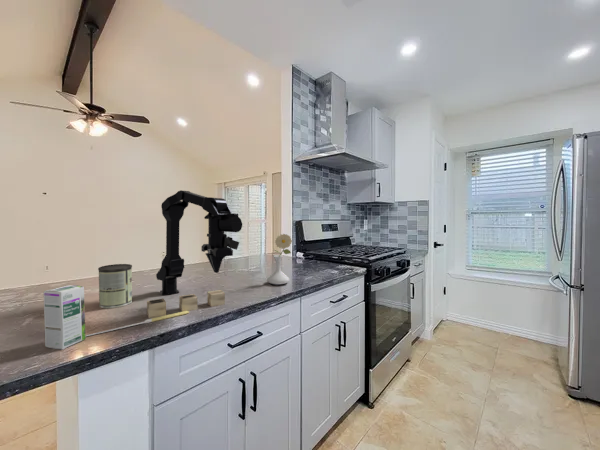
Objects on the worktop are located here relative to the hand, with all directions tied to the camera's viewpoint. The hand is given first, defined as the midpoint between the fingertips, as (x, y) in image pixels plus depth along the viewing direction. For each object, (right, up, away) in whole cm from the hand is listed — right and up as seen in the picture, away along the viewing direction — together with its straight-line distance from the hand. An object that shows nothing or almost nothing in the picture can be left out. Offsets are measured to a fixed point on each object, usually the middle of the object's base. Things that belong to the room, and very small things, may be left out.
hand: (216, 272), depth 100 cm
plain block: (0, -12, 0) cm, 12 cm away
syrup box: (-29, -13, -32) cm, 45 cm away
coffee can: (-37, -12, -1) cm, 39 cm away
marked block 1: (-17, -12, -11) cm, 23 cm away
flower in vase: (+22, -12, +32) cm, 40 cm away
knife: (-19, -13, -19) cm, 30 cm away
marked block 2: (-8, -12, -5) cm, 16 cm away
